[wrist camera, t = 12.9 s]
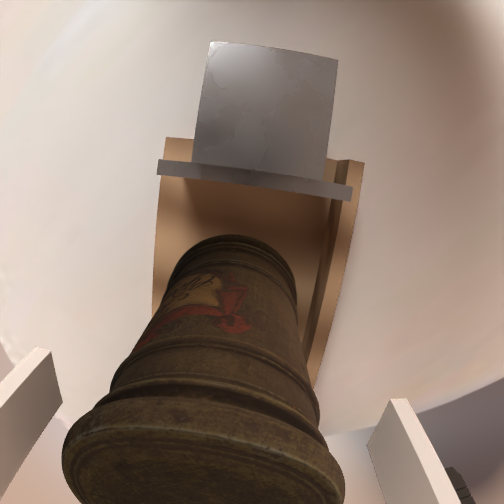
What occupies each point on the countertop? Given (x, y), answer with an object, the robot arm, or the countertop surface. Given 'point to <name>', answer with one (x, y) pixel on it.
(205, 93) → the bookend
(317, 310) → the rack
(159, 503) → the container
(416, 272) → the countertop surface
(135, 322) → the countertop surface
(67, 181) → the countertop surface
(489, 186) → the countertop surface
